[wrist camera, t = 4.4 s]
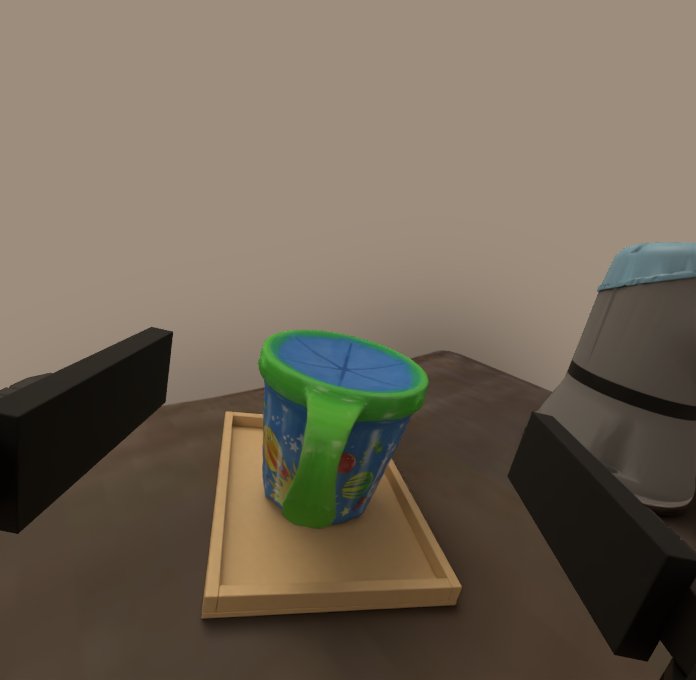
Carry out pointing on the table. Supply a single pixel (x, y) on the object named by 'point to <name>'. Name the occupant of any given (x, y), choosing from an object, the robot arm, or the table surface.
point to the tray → (314, 546)
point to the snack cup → (332, 421)
